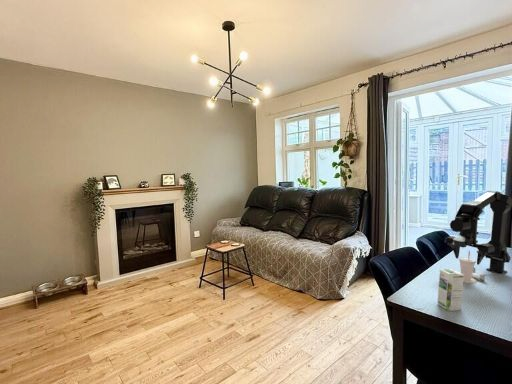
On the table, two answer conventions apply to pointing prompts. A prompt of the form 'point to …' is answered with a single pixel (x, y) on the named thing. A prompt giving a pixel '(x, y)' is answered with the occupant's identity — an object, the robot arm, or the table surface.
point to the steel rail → (478, 276)
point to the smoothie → (467, 266)
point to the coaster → (470, 281)
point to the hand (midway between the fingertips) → (467, 261)
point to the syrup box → (450, 289)
